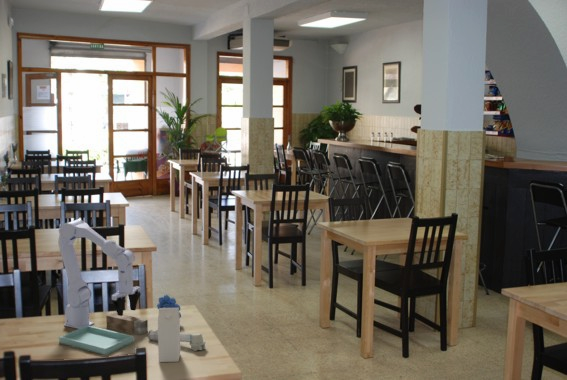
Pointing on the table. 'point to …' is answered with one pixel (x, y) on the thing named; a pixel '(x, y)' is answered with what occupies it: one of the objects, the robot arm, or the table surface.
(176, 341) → the milk carton
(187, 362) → the table surface
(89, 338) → the tray
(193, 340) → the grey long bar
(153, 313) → the table surface
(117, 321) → the walnut strut
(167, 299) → the grapes
